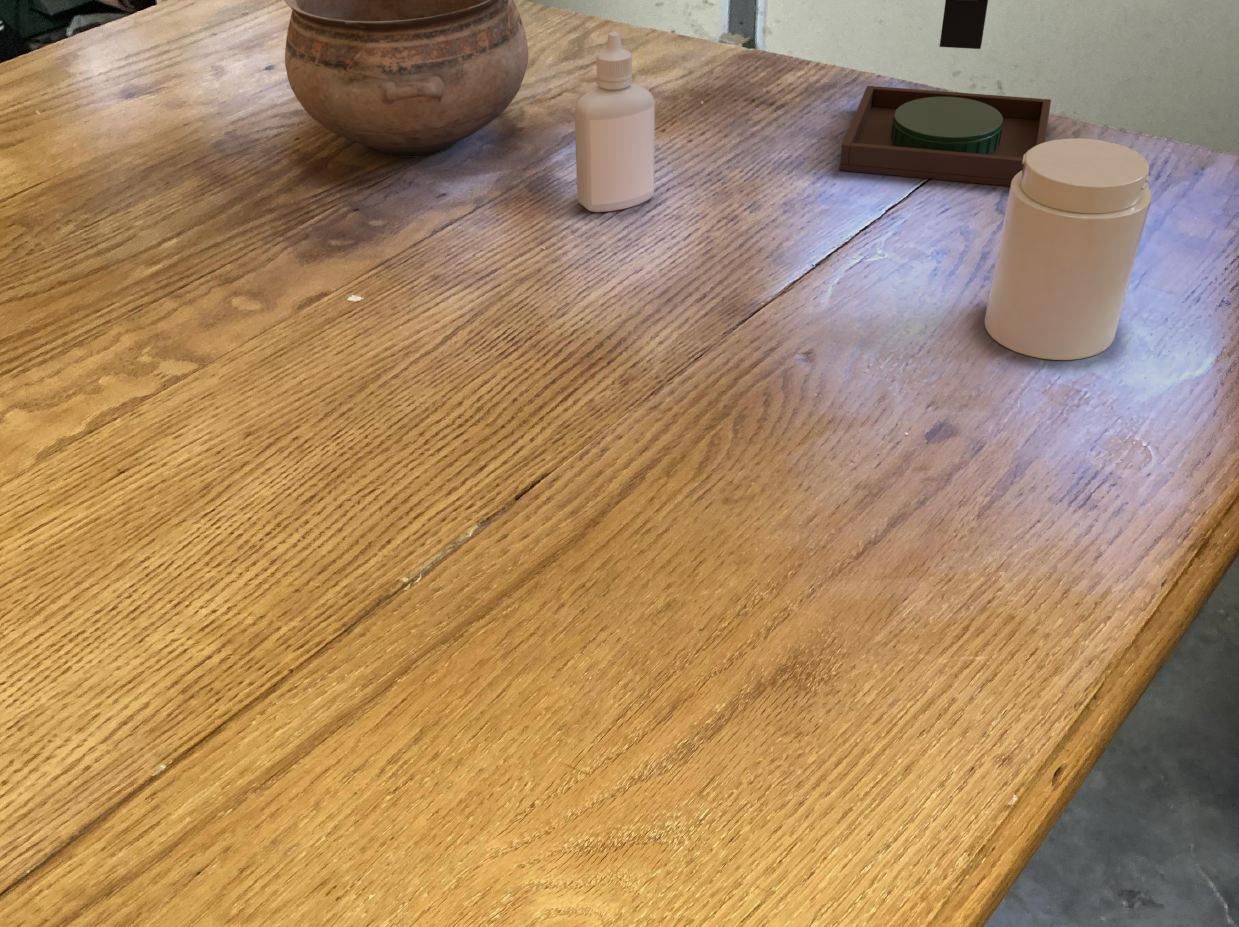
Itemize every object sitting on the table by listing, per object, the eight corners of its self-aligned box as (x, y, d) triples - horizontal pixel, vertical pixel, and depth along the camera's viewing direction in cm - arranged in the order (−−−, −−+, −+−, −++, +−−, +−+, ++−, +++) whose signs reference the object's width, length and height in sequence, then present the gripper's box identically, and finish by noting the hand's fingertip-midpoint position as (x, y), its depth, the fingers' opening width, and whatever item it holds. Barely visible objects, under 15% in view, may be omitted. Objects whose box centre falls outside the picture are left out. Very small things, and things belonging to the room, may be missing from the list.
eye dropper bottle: (653, 213, 95) (654, 44, 87) (575, 214, 96) (570, 45, 88) (654, 187, 99) (656, 22, 91) (579, 188, 99) (574, 23, 91)
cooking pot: (555, 192, 99) (547, 24, 91) (301, 220, 97) (271, 51, 89) (512, 75, 118) (502, -73, 110) (299, 96, 116) (274, -52, 108)
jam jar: (1115, 305, 82) (1159, 140, 76) (1113, 368, 77) (1159, 196, 70) (989, 291, 85) (1020, 129, 78) (978, 351, 79) (1011, 183, 72)
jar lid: (876, 151, 100) (879, 127, 99) (909, 113, 106) (912, 90, 104) (982, 169, 97) (986, 144, 96) (1011, 129, 102) (1016, 105, 101)
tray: (1046, 124, 104) (1051, 99, 103) (1036, 189, 95) (1042, 162, 94) (864, 109, 108) (867, 85, 107) (839, 170, 99) (842, 144, 98)
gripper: (977, -364, 91) (936, -39, 105) (935, -312, 74) (893, 72, 87) (1092, -368, 89) (1035, -35, 103) (1077, -315, 72) (1011, 79, 85)
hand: (969, 15), depth 95 cm, fingers open, 13 cm apart
